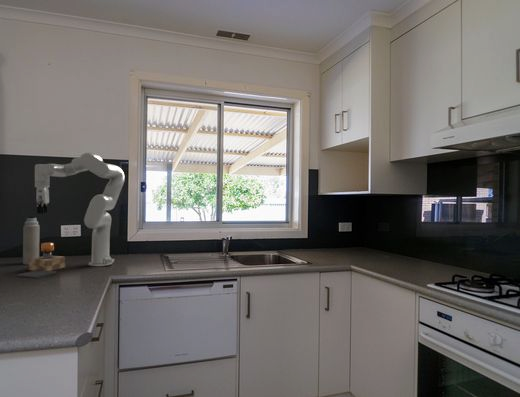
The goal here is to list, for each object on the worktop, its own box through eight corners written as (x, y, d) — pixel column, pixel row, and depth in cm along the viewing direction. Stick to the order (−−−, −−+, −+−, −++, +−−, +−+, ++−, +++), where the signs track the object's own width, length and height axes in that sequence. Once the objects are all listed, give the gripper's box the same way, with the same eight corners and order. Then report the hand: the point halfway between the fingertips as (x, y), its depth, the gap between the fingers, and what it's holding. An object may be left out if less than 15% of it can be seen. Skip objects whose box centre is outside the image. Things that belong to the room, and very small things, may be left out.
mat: (56, 273, 179) (56, 271, 179) (36, 278, 167) (36, 276, 167) (37, 271, 182) (37, 269, 182) (16, 276, 170) (16, 274, 170)
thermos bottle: (32, 261, 207) (33, 215, 207) (42, 262, 205) (42, 216, 205) (19, 263, 200) (20, 216, 200) (29, 264, 197) (30, 216, 197)
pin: (56, 267, 191) (56, 243, 191) (47, 270, 185) (47, 244, 185) (47, 267, 192) (47, 242, 192) (38, 269, 186) (38, 243, 186)
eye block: (64, 267, 193) (65, 256, 193) (46, 271, 181) (47, 260, 181) (47, 265, 196) (47, 255, 196) (28, 270, 184) (28, 259, 184)
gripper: (46, 184, 198) (46, 213, 198) (52, 185, 214) (52, 212, 214) (31, 184, 196) (31, 214, 196) (38, 185, 212) (38, 212, 212)
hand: (42, 213), depth 205 cm, fingers open, 9 cm apart
